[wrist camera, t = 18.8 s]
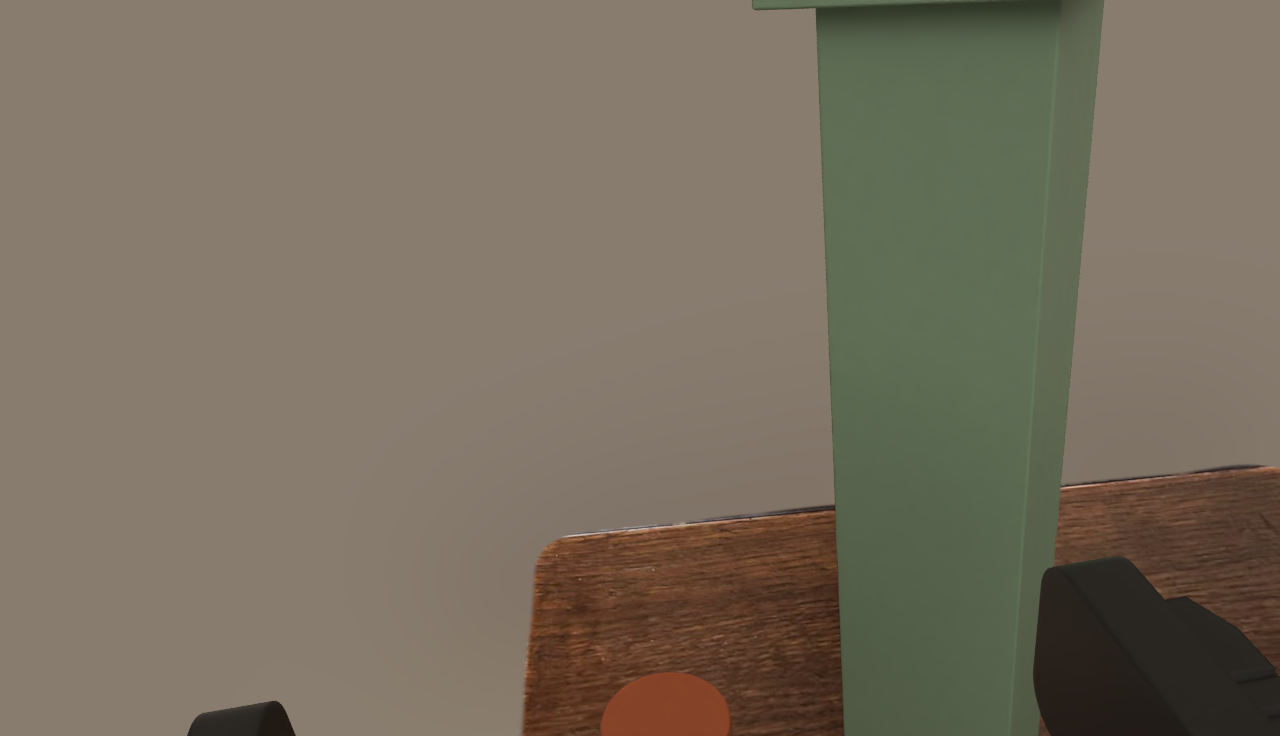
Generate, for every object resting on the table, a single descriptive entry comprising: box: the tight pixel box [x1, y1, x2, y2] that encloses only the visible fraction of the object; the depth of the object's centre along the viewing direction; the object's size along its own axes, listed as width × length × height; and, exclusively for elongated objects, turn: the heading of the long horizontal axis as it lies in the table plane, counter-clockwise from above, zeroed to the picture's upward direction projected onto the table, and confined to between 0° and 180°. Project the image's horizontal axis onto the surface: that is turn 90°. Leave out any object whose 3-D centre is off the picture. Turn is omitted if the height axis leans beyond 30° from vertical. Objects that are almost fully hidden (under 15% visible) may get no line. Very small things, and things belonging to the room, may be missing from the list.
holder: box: [752, 0, 1104, 736], centre depth 28 cm, size 7×7×31 cm
